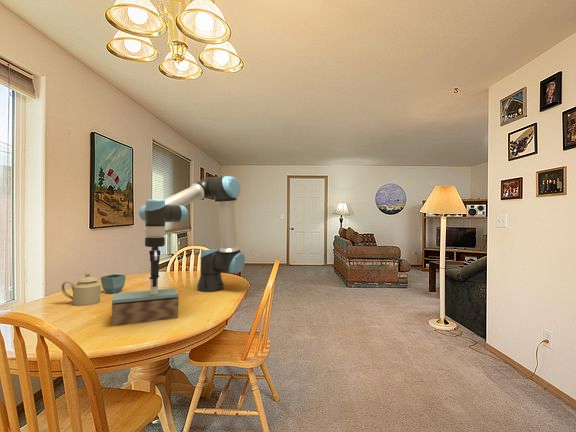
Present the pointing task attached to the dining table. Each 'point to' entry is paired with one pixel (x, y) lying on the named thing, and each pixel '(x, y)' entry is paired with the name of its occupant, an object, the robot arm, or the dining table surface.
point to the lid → (143, 295)
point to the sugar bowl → (84, 291)
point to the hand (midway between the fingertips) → (154, 294)
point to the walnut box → (144, 311)
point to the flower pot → (113, 283)
